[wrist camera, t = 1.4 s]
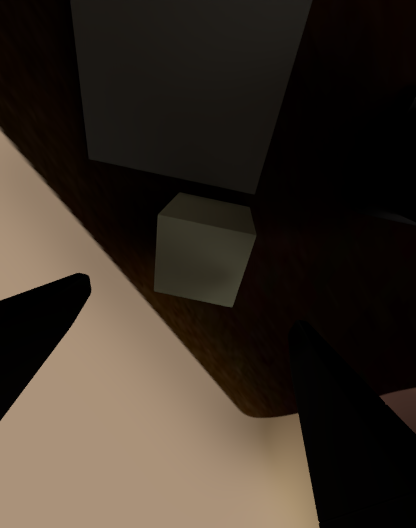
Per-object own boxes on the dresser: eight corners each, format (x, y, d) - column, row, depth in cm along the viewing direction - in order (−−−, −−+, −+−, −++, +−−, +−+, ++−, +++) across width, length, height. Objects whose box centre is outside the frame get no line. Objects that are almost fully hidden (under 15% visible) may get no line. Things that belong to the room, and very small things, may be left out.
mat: (338, -94, 8) (344, -108, 8) (253, 192, 14) (254, 194, 13) (59, -157, 8) (49, -174, 7) (93, 158, 14) (88, 159, 13)
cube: (249, 206, 14) (256, 235, 10) (232, 265, 17) (232, 307, 13) (179, 192, 14) (157, 214, 10) (173, 253, 17) (153, 291, 13)
